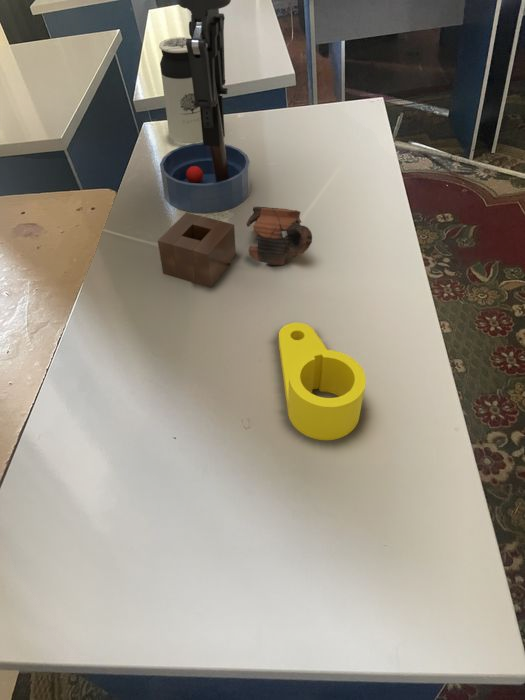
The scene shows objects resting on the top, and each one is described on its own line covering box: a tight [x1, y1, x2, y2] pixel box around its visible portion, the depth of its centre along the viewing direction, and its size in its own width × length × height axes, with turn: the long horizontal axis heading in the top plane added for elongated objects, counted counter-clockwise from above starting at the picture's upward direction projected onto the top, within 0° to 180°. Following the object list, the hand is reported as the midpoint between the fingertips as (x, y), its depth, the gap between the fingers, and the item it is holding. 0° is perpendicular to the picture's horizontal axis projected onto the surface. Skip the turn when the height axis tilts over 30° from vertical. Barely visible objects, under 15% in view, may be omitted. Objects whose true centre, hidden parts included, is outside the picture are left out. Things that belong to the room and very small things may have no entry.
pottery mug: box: [245, 206, 313, 266], centre depth 88 cm, size 12×10×8 cm
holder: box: [157, 211, 237, 289], centre depth 85 cm, size 8×8×6 cm
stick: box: [210, 81, 230, 182], centre depth 92 cm, size 2×2×18 cm
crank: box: [278, 322, 367, 441], centre depth 68 cm, size 18×8×6 cm, turn 14°
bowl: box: [159, 142, 251, 214], centre depth 99 cm, size 15×15×6 cm
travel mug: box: [158, 36, 203, 145], centre depth 111 cm, size 8×8×18 cm
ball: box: [186, 166, 203, 183], centre depth 102 cm, size 3×3×3 cm
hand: (214, 140), depth 92 cm, fingers closed on stick, 2 cm apart
